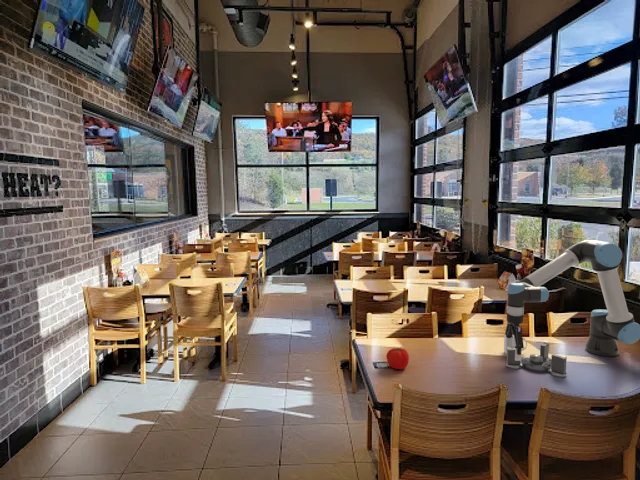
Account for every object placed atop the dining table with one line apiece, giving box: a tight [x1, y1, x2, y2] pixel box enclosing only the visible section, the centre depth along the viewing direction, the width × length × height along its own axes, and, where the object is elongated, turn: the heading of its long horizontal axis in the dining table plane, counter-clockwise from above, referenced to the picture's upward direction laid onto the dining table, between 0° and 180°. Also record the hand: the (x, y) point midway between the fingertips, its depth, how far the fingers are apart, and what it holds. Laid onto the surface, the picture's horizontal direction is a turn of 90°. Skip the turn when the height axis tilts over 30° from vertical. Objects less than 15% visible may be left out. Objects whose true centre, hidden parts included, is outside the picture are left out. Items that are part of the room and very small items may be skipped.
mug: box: [503, 333, 528, 355], centre depth 235 cm, size 9×12×11 cm
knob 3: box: [550, 353, 568, 374], centre depth 207 cm, size 6×2×8 cm, turn 34°
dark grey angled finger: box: [506, 347, 521, 365], centre depth 218 cm, size 6×2×8 cm, turn 84°
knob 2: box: [539, 340, 550, 360], centre depth 224 cm, size 6×2×8 cm, turn 134°
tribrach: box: [505, 353, 567, 378], centre depth 217 cm, size 25×24×6 cm
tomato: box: [385, 347, 410, 370], centre depth 219 cm, size 11×13×10 cm
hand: (513, 355), depth 218 cm, fingers open, 13 cm apart
